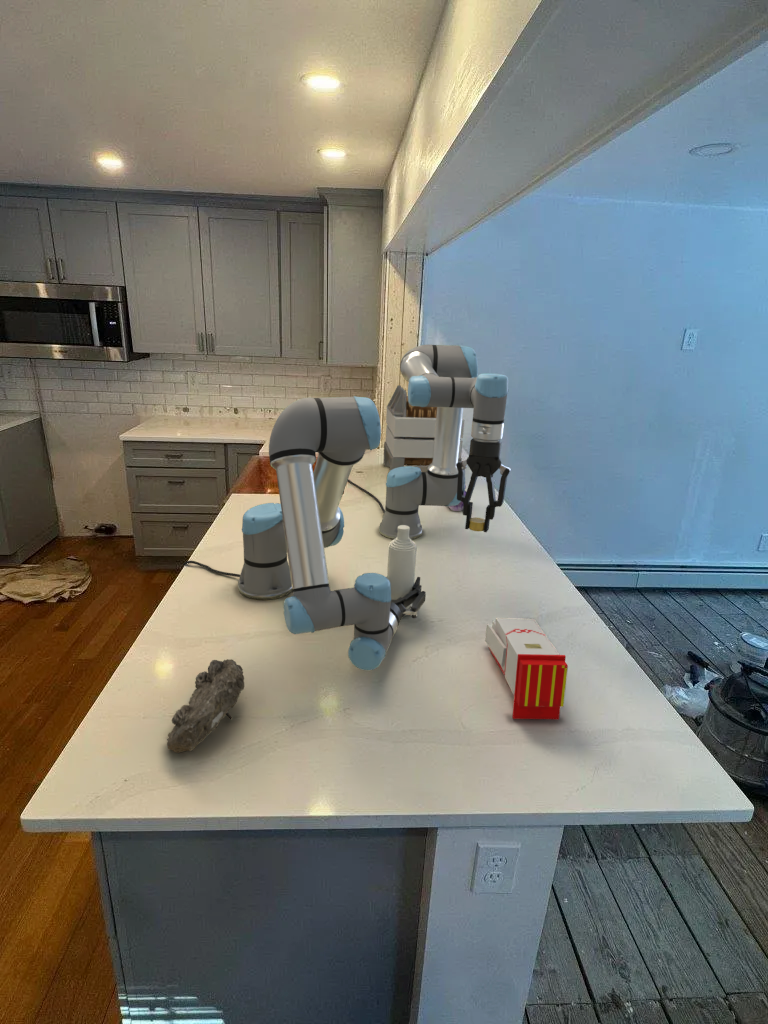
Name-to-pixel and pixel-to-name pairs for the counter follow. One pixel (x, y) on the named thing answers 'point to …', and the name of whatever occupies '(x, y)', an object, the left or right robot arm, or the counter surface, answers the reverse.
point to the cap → (476, 524)
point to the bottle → (401, 563)
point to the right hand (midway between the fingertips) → (477, 528)
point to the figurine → (460, 505)
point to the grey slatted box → (410, 433)
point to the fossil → (206, 705)
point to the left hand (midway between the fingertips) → (404, 579)
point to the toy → (529, 667)
